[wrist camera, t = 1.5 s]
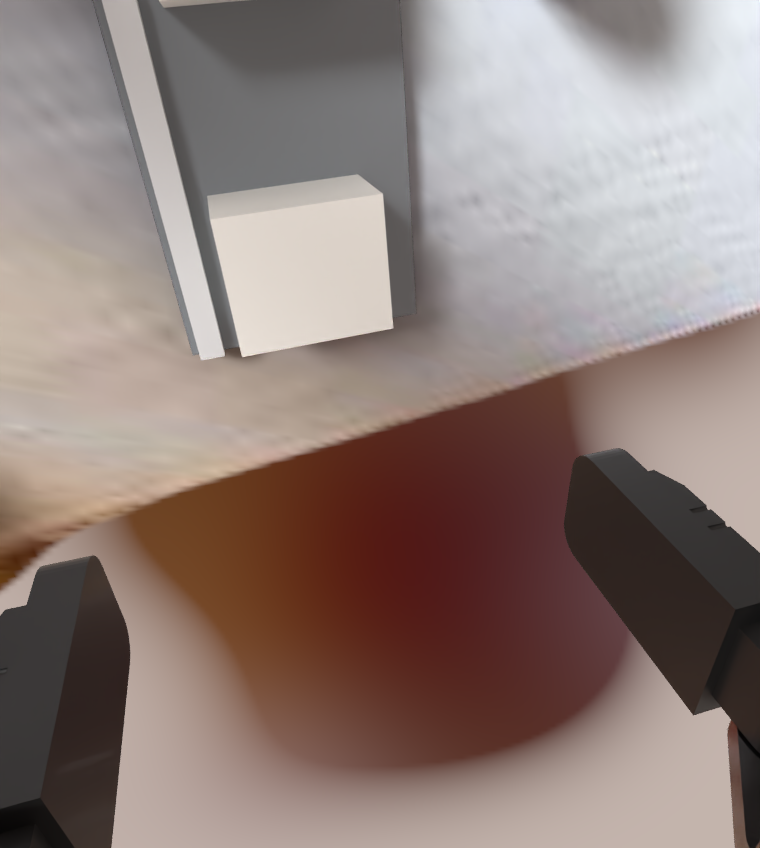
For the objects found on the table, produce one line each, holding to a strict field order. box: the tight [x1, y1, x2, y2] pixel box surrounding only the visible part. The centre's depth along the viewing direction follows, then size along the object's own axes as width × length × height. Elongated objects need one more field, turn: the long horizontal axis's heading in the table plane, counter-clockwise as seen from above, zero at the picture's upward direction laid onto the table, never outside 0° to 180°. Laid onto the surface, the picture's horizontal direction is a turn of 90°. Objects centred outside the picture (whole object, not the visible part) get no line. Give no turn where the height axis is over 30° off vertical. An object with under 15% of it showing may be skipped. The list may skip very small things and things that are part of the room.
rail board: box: [93, 0, 416, 360], centre depth 25 cm, size 22×12×6 cm, turn 5°
